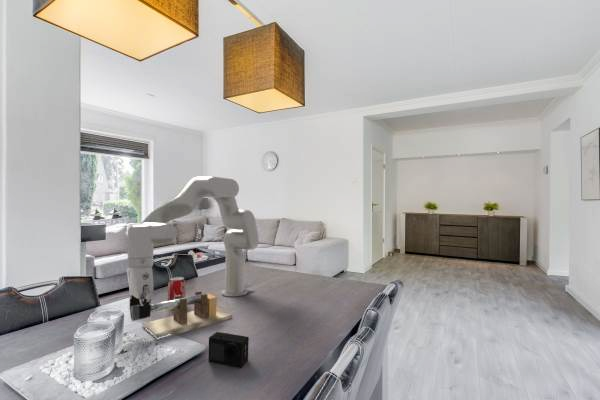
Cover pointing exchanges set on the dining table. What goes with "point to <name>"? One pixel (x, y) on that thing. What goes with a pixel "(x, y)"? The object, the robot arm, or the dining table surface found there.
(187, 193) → the robot arm
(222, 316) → the rig
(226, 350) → the digital camera
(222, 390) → the dining table surface
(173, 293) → the soda can
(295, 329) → the dining table surface
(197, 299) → the shaft
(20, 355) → the dining table surface
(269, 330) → the dining table surface
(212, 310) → the block
